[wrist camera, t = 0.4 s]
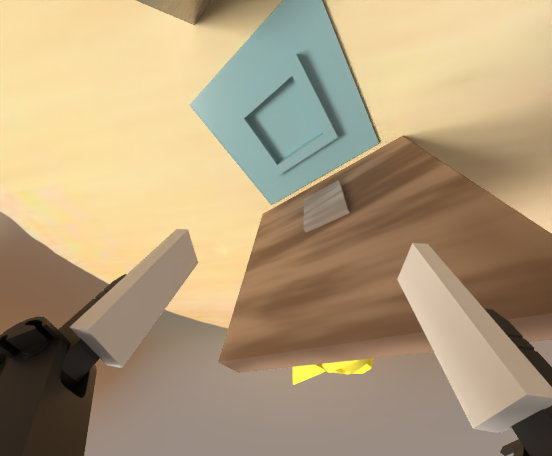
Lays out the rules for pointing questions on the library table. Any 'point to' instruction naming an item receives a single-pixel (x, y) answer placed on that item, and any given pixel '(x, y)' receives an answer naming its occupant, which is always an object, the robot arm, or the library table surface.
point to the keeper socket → (287, 102)
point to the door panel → (381, 263)
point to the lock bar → (180, 8)
